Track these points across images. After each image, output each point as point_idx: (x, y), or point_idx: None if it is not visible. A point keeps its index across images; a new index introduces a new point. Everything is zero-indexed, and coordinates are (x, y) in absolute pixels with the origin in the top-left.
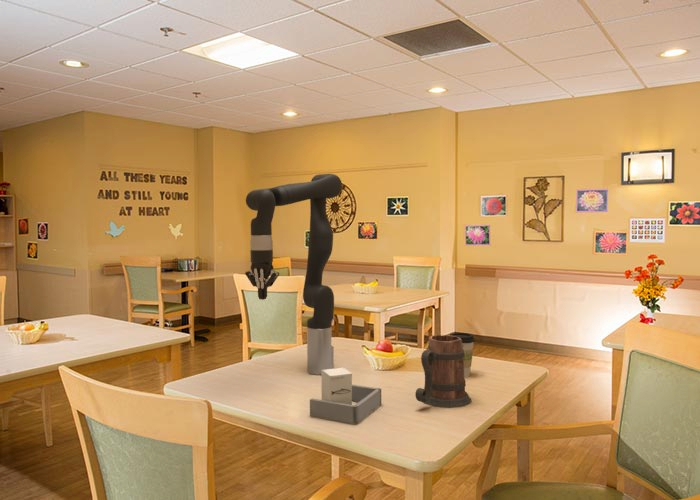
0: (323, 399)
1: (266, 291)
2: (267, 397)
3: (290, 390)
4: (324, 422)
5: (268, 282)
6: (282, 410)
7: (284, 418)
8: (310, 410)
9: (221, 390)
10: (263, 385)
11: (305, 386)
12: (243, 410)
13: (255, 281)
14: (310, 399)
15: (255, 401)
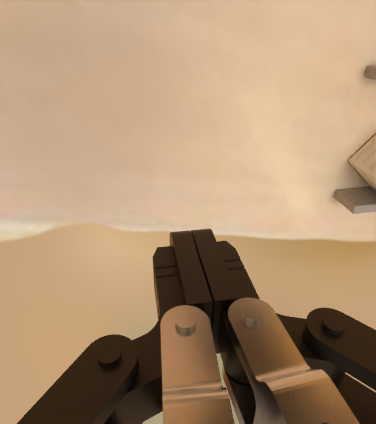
0: (371, 180)
1: (248, 288)
2: (199, 150)
3: (226, 72)
4: None
5: (359, 418)
6: (271, 197)
7: (292, 225)
8: (341, 202)
9: (53, 164)
10: (125, 68)
11: (250, 13)
12: None
13: (74, 414)
14: (354, 212)
15: (189, 184)
